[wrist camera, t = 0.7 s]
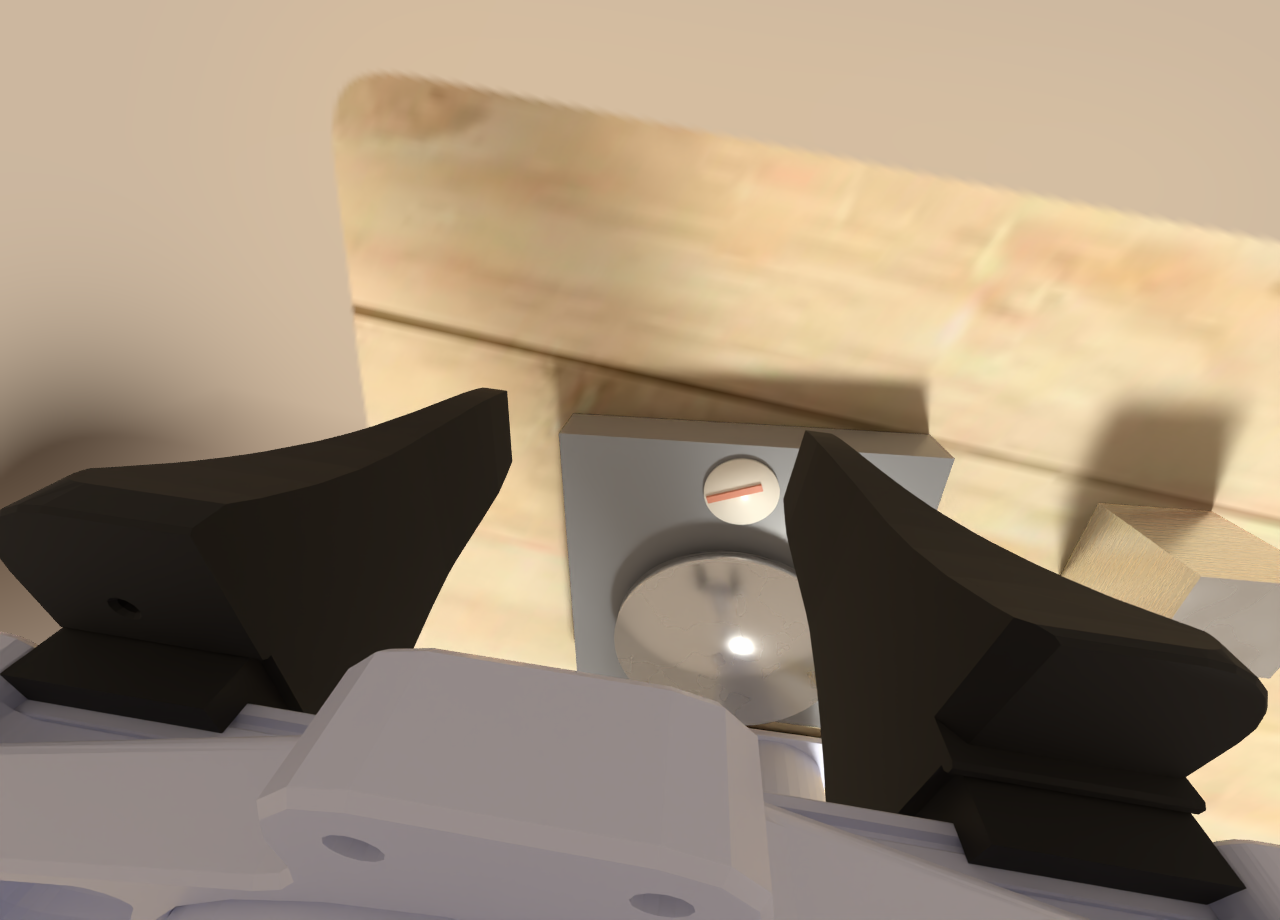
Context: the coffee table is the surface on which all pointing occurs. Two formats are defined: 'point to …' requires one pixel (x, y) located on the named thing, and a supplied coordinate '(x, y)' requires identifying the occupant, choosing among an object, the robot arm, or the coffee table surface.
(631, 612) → the pan
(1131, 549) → the block
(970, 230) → the coffee table surface
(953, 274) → the coffee table surface
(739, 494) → the scale base
